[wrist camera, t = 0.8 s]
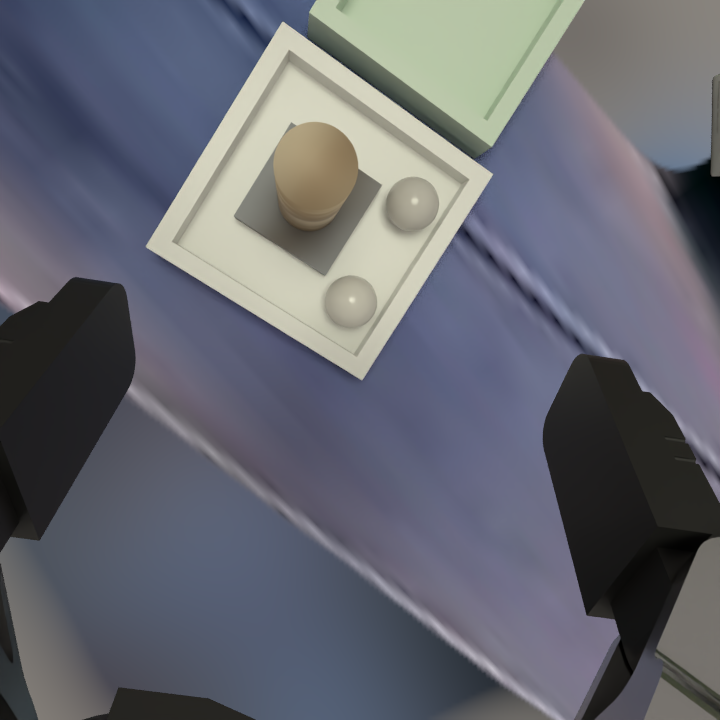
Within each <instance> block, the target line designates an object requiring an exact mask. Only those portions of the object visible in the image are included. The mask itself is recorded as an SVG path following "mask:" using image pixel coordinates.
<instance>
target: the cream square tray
mask: <svg viewBox="0 0 720 720" xmlns="http://www.w3.org/2000/svg"><path fill="white" fill-rule="evenodd" d="M291 122H292V123H293V124H295V125H296V126H297V125H300V124H303V123H306V122H322V123H326V124H329V125H332V126H334V127H335V128H337V129H339V130H340V131H341V132H343V133H344V134H345V135H346V136H347V138H348V139H349V140H350V142H351V143H352V145H353V147H354V149H355V151H356V155H357V159H358V169H360V170H361V171H363V172H364V173H366V174H367V175H368V176H370V177H371V178H373V179H374V180H376V181H377V182H379V183H380V184H381V185H382V186H381V188H380V189H379V191H378V193H377V194H376V196H375V197H374V199H373V201H372V202H371V204H370V205H369V207H368V209H367V210H366V212H365V213H364V215H363V217H362V218H361V220H360V221H359V223H358V225H357V226H356V228H355V229H354V231H353V233H352V234H351V236H350V237H349V239H348V241H347V242H346V244H345V245H344V247H343V249H342V250H341V252H340V253H339V255H338V257H337V258H336V260H335V261H334V263H333V264H332V266H331V268H330V269H329V271H328V272H327V274H326V275H325V276H324V275H323V274H321V273H319V272H318V271H316V270H315V269H313V268H312V267H310V266H309V265H307V264H305V263H304V262H302V261H301V260H299V259H298V258H296V257H295V256H293V255H292V254H290V253H288V252H287V251H285V250H284V249H282V248H281V247H279V246H278V245H276V244H275V243H273V242H271V241H270V240H268V239H267V238H265V237H264V236H262V235H261V234H259V233H258V232H256V231H254V230H253V229H251V228H250V227H248V226H247V225H245V224H244V223H242V222H241V221H239V220H237V219H236V218H235V217H234V214H235V213H236V211H237V209H238V208H239V206H240V205H241V203H242V201H243V200H244V198H245V196H246V195H247V193H248V192H249V190H250V188H251V187H252V185H253V183H254V182H255V180H256V179H257V177H258V175H259V174H260V172H261V170H262V169H263V167H264V166H265V164H266V162H267V161H268V159H269V157H270V156H271V154H272V153H273V151H274V149H275V148H276V146H277V144H278V143H279V141H280V139H281V138H282V136H283V135H284V133H285V131H286V130H287V128H288V126H289V125H290V123H291ZM492 175H493V174H492V173H490V172H489V171H488V170H486V169H485V168H483V167H482V166H481V165H479V164H478V163H477V162H475V161H474V160H472V159H471V158H470V157H468V156H467V155H466V154H464V153H463V152H461V151H460V150H459V149H457V148H456V147H455V146H453V145H452V144H450V143H449V142H448V141H446V140H445V139H444V138H442V137H441V136H439V135H438V134H437V133H435V132H434V131H433V130H431V129H430V128H429V127H427V126H426V125H424V124H423V123H422V122H420V121H419V120H418V119H416V118H415V117H413V116H412V115H411V114H409V113H408V112H407V111H405V110H404V109H402V108H401V107H400V106H398V105H397V104H396V103H394V102H393V101H391V100H390V99H389V98H387V97H386V96H385V95H383V94H382V93H380V92H379V91H378V90H376V89H375V88H374V87H372V86H371V85H369V84H368V83H367V82H365V81H364V80H363V79H361V78H360V77H358V76H357V75H356V74H354V73H353V72H352V71H350V70H349V69H347V68H346V67H345V66H343V65H342V64H341V63H339V62H338V61H336V60H335V59H334V58H332V57H331V56H330V55H328V54H327V53H325V52H324V51H323V50H321V49H320V48H319V47H317V46H316V45H314V44H313V43H312V42H310V41H309V40H308V39H306V38H305V37H303V36H302V35H301V34H299V33H298V32H297V31H295V30H294V29H292V28H291V27H290V26H288V25H287V24H286V23H284V22H282V24H281V25H280V27H279V28H278V30H277V32H276V33H275V35H274V37H273V38H272V40H271V42H270V43H269V45H268V47H267V48H266V50H265V51H264V53H263V55H262V56H261V58H260V60H259V61H258V63H257V65H256V66H255V68H254V70H253V71H252V73H251V74H250V76H249V78H248V79H247V81H246V83H245V84H244V86H243V88H242V89H241V91H240V93H239V94H238V96H237V98H236V99H235V101H234V102H233V104H232V106H231V107H230V109H229V111H228V112H227V114H226V116H225V117H224V119H223V121H222V122H221V124H220V125H219V127H218V129H217V130H216V132H215V134H214V135H213V137H212V139H211V140H210V142H209V144H208V145H207V147H206V148H205V150H204V152H203V153H202V155H201V157H200V158H199V160H198V162H197V163H196V165H195V167H194V168H193V170H192V171H191V173H190V175H189V176H188V178H187V180H186V181H185V183H184V185H183V186H182V188H181V190H180V191H179V193H178V194H177V196H176V198H175V199H174V201H173V203H172V204H171V206H170V208H169V209H168V211H167V213H166V214H165V216H164V218H163V219H162V221H161V222H160V224H159V226H158V227H157V229H156V231H155V232H154V234H153V236H152V237H151V239H150V241H149V242H148V244H147V245H146V248H148V249H150V250H151V251H153V252H155V253H156V254H158V255H159V256H161V257H163V258H164V259H166V260H167V261H169V262H171V263H172V264H174V265H176V266H177V267H179V268H180V269H182V270H184V271H185V272H187V273H189V274H190V275H192V276H193V277H195V278H197V279H198V280H200V281H202V282H203V283H205V284H206V285H208V286H210V287H211V288H213V289H215V290H216V291H218V292H219V293H221V294H223V295H224V296H226V297H227V298H229V299H231V300H232V301H234V302H236V303H237V304H239V305H240V306H242V307H244V308H245V309H247V310H249V311H250V312H252V313H253V314H255V315H257V316H258V317H260V318H262V319H263V320H265V321H266V322H268V323H270V324H271V325H273V326H275V327H276V328H278V329H279V330H281V331H283V332H284V333H286V334H287V335H289V336H291V337H292V338H294V339H296V340H297V341H299V342H300V343H302V344H304V345H305V346H307V347H309V348H310V349H312V350H313V351H315V352H317V353H318V354H320V355H322V356H323V357H325V358H326V359H328V360H330V361H331V362H333V363H334V364H336V365H338V366H339V367H341V368H343V369H344V370H346V371H347V372H349V373H351V374H352V375H354V376H356V377H357V378H359V379H360V380H363V378H364V377H365V375H366V374H367V372H368V370H369V369H370V367H371V366H372V364H373V363H374V361H375V359H376V358H377V356H378V355H379V353H380V352H381V350H382V348H383V347H384V345H385V344H386V342H387V341H388V339H389V337H390V336H391V334H392V333H393V331H394V329H395V328H396V326H397V325H398V323H399V322H400V320H401V318H402V317H403V315H404V314H405V312H406V311H407V309H408V307H409V306H410V304H411V303H412V301H413V300H414V298H415V296H416V295H417V293H418V292H419V290H420V289H421V287H422V285H423V284H424V282H425V281H426V279H427V278H428V276H429V274H430V273H431V271H432V270H433V268H434V267H435V265H436V263H437V262H438V260H439V259H440V257H441V256H442V254H443V252H444V251H445V249H446V248H447V246H448V245H449V243H450V241H451V240H452V238H453V237H454V235H455V234H456V232H457V230H458V229H459V227H460V226H461V224H462V223H463V221H464V219H465V218H466V216H467V215H468V213H469V212H470V210H471V208H472V207H473V205H474V204H475V202H476V201H477V199H478V197H479V196H480V194H481V193H482V191H483V190H484V188H485V186H486V185H487V183H488V182H489V180H490V179H491V177H492ZM407 177H420V178H423V179H425V180H427V181H428V182H429V183H431V184H432V185H433V187H434V188H435V190H436V192H437V194H438V198H439V209H438V213H437V215H436V217H435V219H434V220H433V222H432V223H431V224H430V225H429V226H427V227H426V228H424V229H422V230H419V231H414V232H410V231H404V230H402V229H400V228H398V227H397V226H395V225H394V224H393V223H392V221H391V220H390V218H389V217H388V214H387V211H386V199H387V195H388V193H389V191H390V189H391V188H392V186H393V185H394V184H395V183H397V182H398V181H400V180H401V179H404V178H407ZM348 275H354V276H359V277H361V278H363V279H365V280H367V281H368V282H369V283H370V284H371V285H372V287H373V288H374V290H375V292H376V296H377V308H376V311H375V314H374V315H373V317H372V318H371V319H370V320H369V321H368V322H367V323H366V324H364V325H362V326H360V327H357V328H346V327H342V326H340V325H338V324H336V323H335V322H334V321H333V320H332V319H331V318H330V317H329V315H328V313H327V311H326V308H325V296H326V292H327V290H328V288H329V287H330V285H331V284H332V283H333V282H334V281H335V280H337V279H338V278H341V277H343V276H348Z"/></svg>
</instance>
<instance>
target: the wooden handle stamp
mask: <svg viewBox="0 0 720 720" xmlns="http://www.w3.org/2000/svg"><path fill="white" fill-rule="evenodd" d="M381 186H382V185H381V184H380V183H379V182H377V181H376V180H374V179H373V178H371V177H370V176H368V175H367V174H366V173H364V172H363V171H361V170H360V169H358V159H357V155H356V151H355V149H354V147H353V145H352V143H351V142H350V140H349V139H348V138H347V136H346V135H345V134H344V133H343V132H341V131H340V130H339V129H337V128H335V127H334V126H332V125H329V124H326V123H322V122H306V123H303V124H300V125H297V126H296V125H295V124H293V123H292V122H291V123H290V125H289V126H288V128H287V130H286V131H285V133H284V135H283V136H282V138H281V139H280V141H279V143H278V144H277V146H276V148H275V149H274V151H273V153H272V154H271V156H270V157H269V159H268V161H267V162H266V164H265V166H264V167H263V169H262V170H261V172H260V174H259V175H258V177H257V179H256V180H255V182H254V183H253V185H252V187H251V188H250V190H249V192H248V193H247V195H246V196H245V198H244V200H243V201H242V203H241V205H240V206H239V208H238V209H237V211H236V213H235V214H234V217H235V218H236V219H237V220H239V221H241V222H242V223H244V224H245V225H247V226H248V227H250V228H251V229H253V230H254V231H256V232H258V233H259V234H261V235H262V236H264V237H265V238H267V239H268V240H270V241H271V242H273V243H275V244H276V245H278V246H279V247H281V248H282V249H284V250H285V251H287V252H288V253H290V254H292V255H293V256H295V257H296V258H298V259H299V260H301V261H302V262H304V263H305V264H307V265H309V266H310V267H312V268H313V269H315V270H316V271H318V272H319V273H321V274H323V275H324V276H325V275H326V274H327V272H328V271H329V269H330V268H331V266H332V264H333V263H334V261H335V260H336V258H337V257H338V255H339V253H340V252H341V250H342V249H343V247H344V245H345V244H346V242H347V241H348V239H349V237H350V236H351V234H352V233H353V231H354V229H355V228H356V226H357V225H358V223H359V221H360V220H361V218H362V217H363V215H364V213H365V212H366V210H367V209H368V207H369V205H370V204H371V202H372V201H373V199H374V197H375V196H376V194H377V193H378V191H379V189H380V188H381Z"/></svg>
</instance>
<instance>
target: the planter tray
mask: <svg viewBox="0 0 720 720" xmlns="http://www.w3.org/2000/svg"><path fill="white" fill-rule="evenodd" d="M584 1H585V0H316V2H315V4H314V5H313V7H312V9H311V10H310V12H309V22H308V38H309V39H310V40H312V41H313V42H314V43H316V44H317V45H319V46H320V47H321V48H323V49H324V50H325V51H327V52H328V53H330V54H331V55H332V56H334V57H335V58H336V59H338V60H339V61H340V62H342V63H343V64H345V65H346V66H347V67H349V68H350V69H351V70H353V71H354V72H356V73H357V74H358V75H360V76H361V77H362V78H364V79H365V80H367V81H368V82H369V83H371V84H372V85H373V86H375V87H376V88H378V89H379V90H380V91H382V92H383V93H384V94H386V95H387V96H389V97H390V98H391V99H393V100H394V101H395V102H397V103H398V104H400V105H401V106H402V107H404V108H405V109H406V110H408V111H409V112H411V113H412V114H413V115H415V116H416V117H417V118H419V119H420V120H422V121H423V122H424V123H426V124H427V125H428V126H430V127H431V128H433V129H434V130H435V131H437V132H438V133H439V134H441V135H442V136H443V137H445V138H446V139H448V140H449V141H450V142H452V143H453V144H454V145H456V146H457V147H459V148H460V149H461V150H463V151H464V152H465V153H467V154H468V155H470V156H471V157H472V158H474V159H475V158H477V157H478V156H480V155H481V154H482V153H484V152H485V151H487V150H488V149H490V148H491V147H492V146H493V144H494V143H495V141H496V140H497V138H498V136H499V135H500V133H501V132H502V130H503V129H504V127H505V125H506V124H507V122H508V121H509V119H510V118H511V116H512V114H513V113H514V111H515V110H516V108H517V106H518V105H519V103H520V102H521V100H522V99H523V97H524V95H525V94H526V92H527V91H528V89H529V88H530V86H531V84H532V83H533V81H534V80H535V78H536V77H537V75H538V73H539V72H540V70H541V69H542V67H543V65H544V64H545V62H546V61H547V59H548V58H549V56H550V54H551V53H552V51H553V50H554V48H555V46H556V45H557V43H558V42H559V40H560V39H561V37H562V35H563V34H564V32H565V31H566V29H567V27H568V26H569V24H570V23H571V21H572V20H573V18H574V16H575V15H576V13H577V12H578V10H579V9H580V7H581V6H582V4H583V2H584Z"/></svg>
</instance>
